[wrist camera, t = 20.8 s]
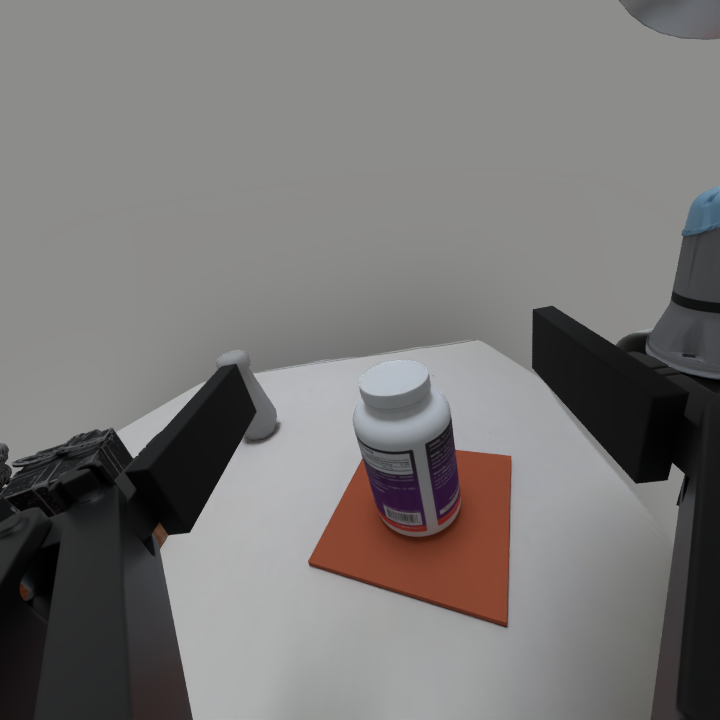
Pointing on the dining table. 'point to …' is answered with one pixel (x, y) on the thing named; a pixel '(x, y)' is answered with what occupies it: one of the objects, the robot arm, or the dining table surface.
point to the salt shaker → (252, 396)
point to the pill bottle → (408, 448)
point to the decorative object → (59, 474)
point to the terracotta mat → (430, 543)
